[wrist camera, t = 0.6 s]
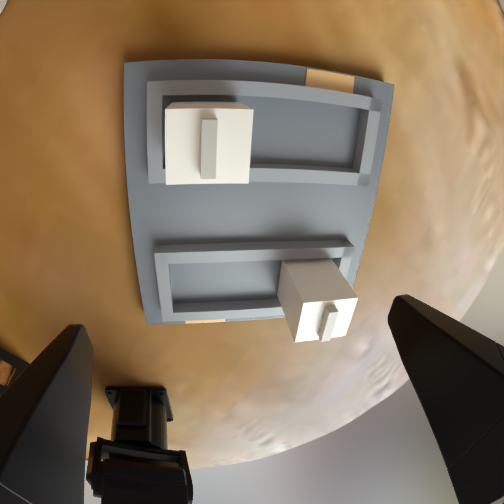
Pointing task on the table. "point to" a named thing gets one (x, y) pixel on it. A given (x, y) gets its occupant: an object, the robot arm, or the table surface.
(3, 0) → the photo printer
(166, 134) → the white block
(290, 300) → the white rectangular block
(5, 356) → the ammunition clip
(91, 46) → the table surface
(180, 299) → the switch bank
